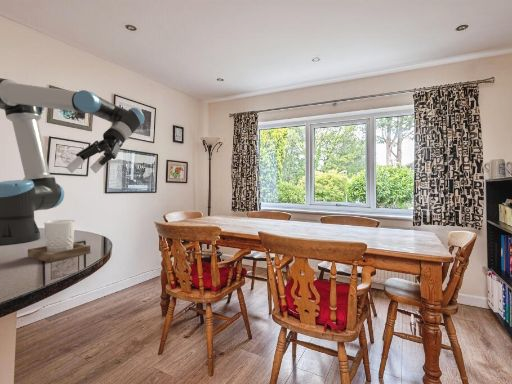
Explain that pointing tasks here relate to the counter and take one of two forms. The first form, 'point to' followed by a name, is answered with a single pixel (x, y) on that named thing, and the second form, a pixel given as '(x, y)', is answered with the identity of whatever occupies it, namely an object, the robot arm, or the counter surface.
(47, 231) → the white cup
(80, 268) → the counter surface
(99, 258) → the counter surface
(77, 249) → the walnut coaster tray
